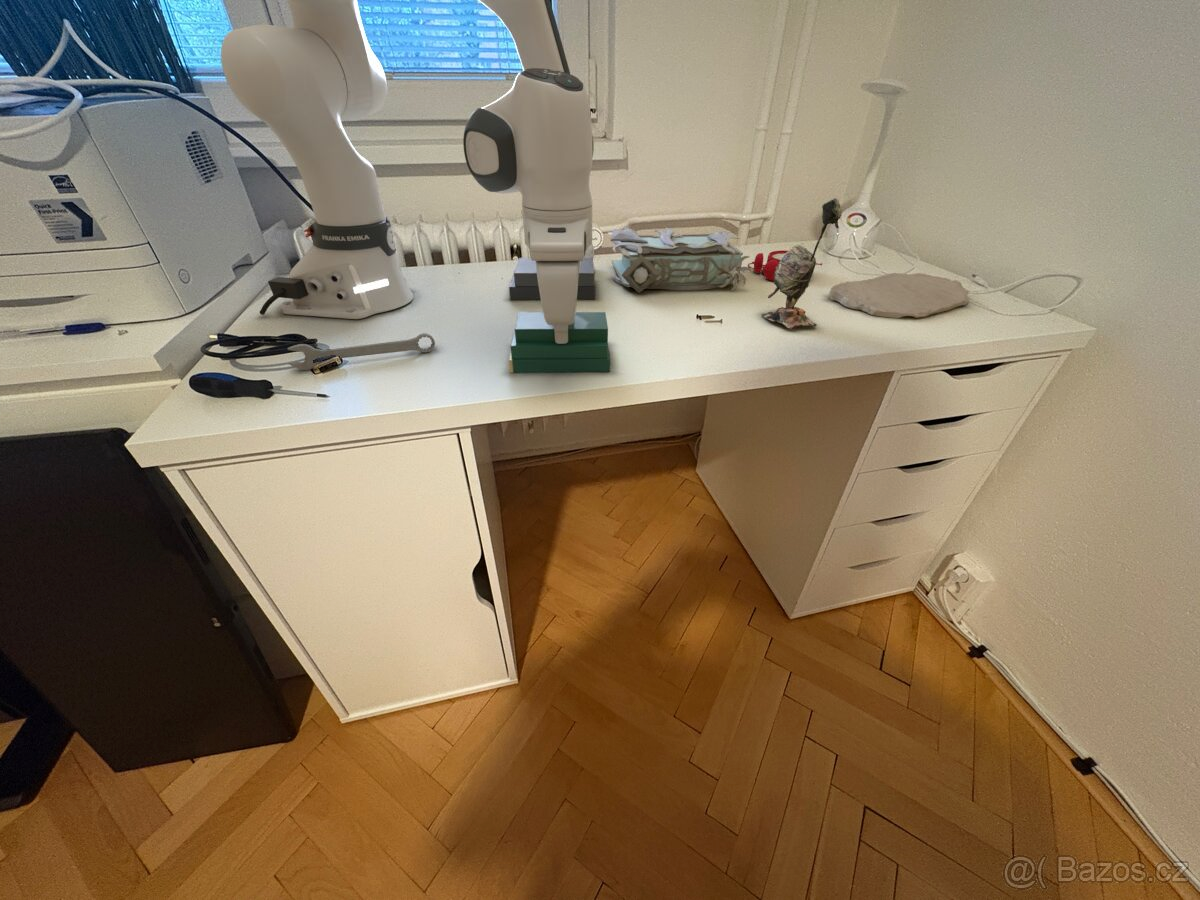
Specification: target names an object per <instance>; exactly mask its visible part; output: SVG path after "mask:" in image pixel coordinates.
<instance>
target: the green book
mask: <svg viewBox="0 0 1200 900" xmlns="http://www.w3.org/2000/svg"><path fill="white" fill-rule="evenodd" d="M607 319H608V318H607V313H606V311H576V312H575V318H574V322H573V324H571V325H568V342H608V343H609V326H608V320H607ZM515 325H516V326H515ZM515 325H514V329H515V338H516V343H533V342H555V331H554V326H553V325H548V324H547V323H546V322H545V319H544V315H543V311H542V312H541V311H540V312H539V311H537V312H536V311H535V312H534V311H533V312H531V311H529V312H528V311H527V312H526V311H525V312H524V311H523V312H522V311H521V312H518V313H517V317H516V322H515Z"/></svg>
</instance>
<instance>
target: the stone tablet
mask: <svg viewBox="0 0 1200 900" xmlns="http://www.w3.org/2000/svg"><path fill="white" fill-rule="evenodd" d="M968 294H969V290H968V289H966V288H965V287H964V286H962V282H961V281H959V280H956V279H950V278H947V277H941V276H935V275H930V274H926V273H921V272H920V273H919V272H918V273H902V272H892V273H887V274H885V275H881V276H877V277H873V278H868V279H863V280H853V281H845V282H839V283H837V284H834V285H833V286H832V287H831V288H830V290H829V293H828V297H829V299H830V300H831V301H836V302H838V303H840V304H841V305H843V306H844V307H846V308H848V309H851V310H859V311H860V310H861V311H863V312H865V313H867V314H869V315H871V316H874V317H875V316H876V317H884V318H890V319H900V318H904V317H913V318H915V319H916V318H925V317H929V316H931V315H933V314H939V313H943V312H946V311H950V310H952V309H954V308H957V307H962V306H966V305H967V304H968V303H969V302H970V297H968Z"/></svg>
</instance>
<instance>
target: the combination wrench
mask: <svg viewBox="0 0 1200 900" xmlns="http://www.w3.org/2000/svg"><path fill="white" fill-rule="evenodd" d="M423 338H427V339H429V340H430V342H431V344H430V346H428V347H427V348H423V347H420V345H419V342H420V340H422V339H423ZM435 346H436V341H435V339H434V337H433V335H431V334H429V333H426V332H425V333H424V332H422V333H420V334H418V335H416V337H413V338H408V339H404V340H403V339H402V340H396V341H395V340H394V341H386V342H379V343H371V344H361V345H355V346H354V345H353V346H345V347H337V348H328V349H320V348H315V347H313V345H310V344H307V343H298V344H295V345H292V346H289V347H287V351H293V352H300V353H303V354H304V357H305V358H304V360H303V361H288V362H287V365H289V366H291V367H293V368H295V369H299V370H301V371H310V370H312V369H314V368H316V366H317V365H319V364H322V363H323V362H324V361H321V362H316V363H312V361H313V360H315V359H317V358H321V357H325V356H330V355H336V356H340V358H339V359H347V358H356V357H365V356H374V355H381V354H392V353H400V352H408V351H418V352H421V353H430V352H432V351H433V350H434V349H435Z"/></svg>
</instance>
